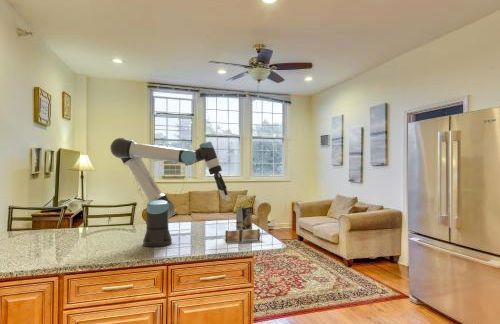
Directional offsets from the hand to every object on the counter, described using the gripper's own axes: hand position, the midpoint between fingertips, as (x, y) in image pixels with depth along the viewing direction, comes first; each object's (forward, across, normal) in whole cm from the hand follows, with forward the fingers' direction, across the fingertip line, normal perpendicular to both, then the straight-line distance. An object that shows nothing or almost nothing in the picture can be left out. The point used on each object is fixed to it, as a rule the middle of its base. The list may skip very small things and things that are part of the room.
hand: (226, 199), depth 190 cm
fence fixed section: (+22, -9, +6) cm, 25 cm away
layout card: (+24, -4, +1) cm, 25 cm away
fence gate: (+26, -9, -4) cm, 28 cm away
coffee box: (+25, +15, -5) cm, 30 cm away
